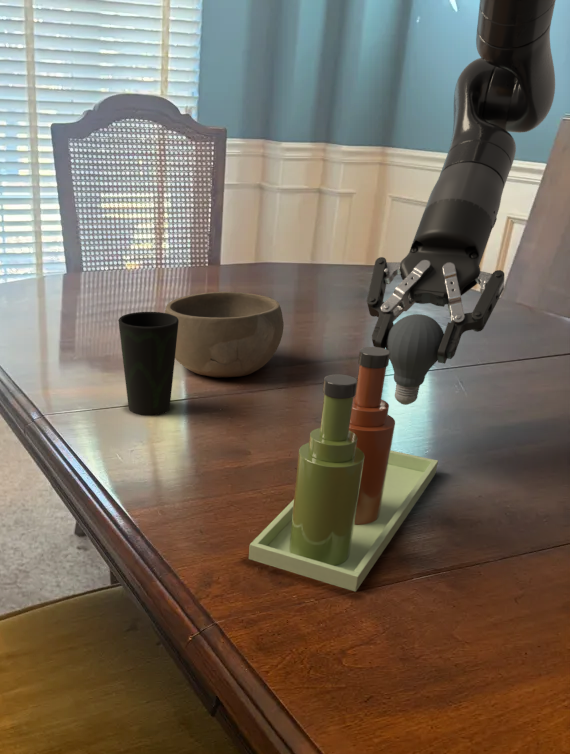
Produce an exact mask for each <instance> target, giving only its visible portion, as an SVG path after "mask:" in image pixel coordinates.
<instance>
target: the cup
mask: <svg viewBox="0 0 570 754" xmlns="http://www.w3.org/2000/svg"><path fill="white" fill-rule="evenodd" d="M178 323H179V320H178V318H177V317H175V316H174V315H171V314H167V313H165V312H161V311H137V312H130V313H126V314H124V315H121V316H120V317H119V318H118V329H119V338H120V346H121V355H122V363H123V373H124V380H125V391H126V396H127V406H128V407H127V408H128V411H129V412H131V413H132V414H134V415H135V414H136V415H139V416H144V417H145V416H146V417H150V416H151V417H152V416H160V415H164V414H167V413H168V412H169V411H170V409H171V399H172V390H173V381H174V371H175V363H176V362H175V361H176V359H175V352H176V342H177V333H178Z"/></svg>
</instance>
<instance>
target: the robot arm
mask: <svg viewBox="0 0 570 754" xmlns="http://www.w3.org/2000/svg"><path fill="white" fill-rule="evenodd" d="M556 1H557V0H479V6H478V17H477V26H476V36H475V44H476V46H475V47H476V50H477V53H478V55H479V56H480V57H479V58H477V59H474V60H472V61H471V62H470V63H469V64H468V65H467V66H465V68H464V69H463V70H462V72H460V74H459V76H458V78H457V81H456V84H455V87H454V95H453V125H452V135H451V141H450V145H449V148H448V152H447V155H446V157H445V159H444V162H443V165H442V168H441V170H440V174H439V176H438V179H437V181H436V182H435V184H434V186H433V188H432V189H431V192H430V194H429V196H428V199H427V202H426V205H425V208H424V210H423V213H422V215H421V217H420V221H419V224H418V227H417V229H416V233H415V235H414V238H413V240H412V243H411V245H410V248H409V251H408V253H407V254H406V256H405V257H404V258H403V259H402V260H401V261H398V262H397V261H396V262H394V261H393V262H392V261H391V262H387V258H385V257H383V256H380V257H378V258H376V259H375V262H374V266H373V271H372V274H371V278H370V283H369V288H368V293H367V297H366V305H367V309H368V313H369V315H370V316H371V317H373V318H375V317H377V320H376V323H375V326H374V328H373V331H372V334H371V341H372V347H379V348H384V349H386V339H387V336H388V334H389V331H390V330H391V328H392V327H393V325H394V324H395V323H394V322H395V321H396V320H397V319H398V318H399V317H400V316H401V315H402V314H403V313H404V312H407V311H408V310H410V308H411V307H412V306H414V304H418V305H419V304H420V305H425V304H431V305H434V306H437V307H442V308H444V307H446V306H445V305H447V310H448V314H449V318H450V322H447V325H446V326H445V330H444V332H443V333H444V335H443V338H442V341H441V344H440V347H439V350H438V354H437V358H438V361H437V363H438V364H446V362H447V360H452V359H453V358H454V357H455V355H456V352H457V350H458V347H459V343H460V341H461V337H462V335H463V334H464V333H466V332H468V331H474V332H478V333H479V332H481V331H483V330H484V329H485V327H486V325H487V322H488V321H489V319H490V317H491V315H492V313H493V311H494V309H495V308H496V305H497V303H498V301H499V299H500V298H501V296H502V295H503V294H502V293H503V292H504V289H505V272H504V271H503V270H502V269H498V270H495V271H493V272H492V273H491V272H487V271H482V270H481V267H480V265H481V262H482V259H483V256H484V254H485V251H486V248H487V244H488V242H489V239H490V236H491V233H492V230H493V228H494V227H495V225H496V222H497V220H498V219H497V217H498V213H499V210H500V207H501V202H502V195H503V193H504V189H505V186H506V184H507V180H508V178H509V175H510V172H511V170H512V166H513V163H514V160H515V157H516V153H517V152H516V151H517V146H516V141H515V139H514V137H513V135H511V133H519V134H520V133H527V132H530V131H532V130H534V129H535V128H538V126H539V125H540V124H541V123H543V121H545V119H546V117H547V116H548V115H549V113H550V111H551V109H552V106H553V103H554V99H555V93H556V73H555V72H556V71H555V65H554V61H553V60H554V59H553V54H552V49H551V27H552V26H551V25H552V20H553V17H554V10H555V6H556ZM398 275H400V277H401V280H402V281H401V282H400V283H399V284H398V285H397V286H396V287H395V288H394V290H393V293H392V294H391V295H390V296H389V297H388V298H387V299H386V300H385V301H384V298H385V293H386V289H387V285H390V284H391V283H392V282H393V281H394V278H395V277H396V276H398ZM476 285H479V293H480V294H481V295H480V296H479V299H478V301H477V303H476V305H475V307H474V309H472V310H473V311H472V312H466V313H465V311H464V306H463V300H462V296H463V295H464V294H466V293H467V292H469V291H470V290H471V289H473V288H474V287H476Z"/></svg>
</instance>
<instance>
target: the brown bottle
mask: <svg viewBox="0 0 570 754" xmlns="http://www.w3.org/2000/svg"><path fill="white" fill-rule="evenodd" d="M389 358H390V351H389V350H387V349H386V348H385V349H384V348H379V347H374V346H366V347H361V348H359V354H358V359H357V363H358V365H359V366H358V373H357V378H356V379H357V389H356V395H355V396H354V397H353V404H352V412H351V419H350V426H349V431H351V432H353V433H355V434H356V435H357V438H358V439H357V446H356V447H357V448H359V449H360V450H361V451H362V452H363V453H364V456H365V457H364V464H363V471H362V477H361V484H360V491H359V497H358V504H357V510H356V517H355V524H354V525H362V524H368V523H372V522H374V521H376V520H377V519H378V518H379V516H380V510H381V504H382V498H383V493H384V487H385V481H386V475H387V469H388V463H389V457H390V451H391V450H392V445H393V438H394V433H395V426H396V420H395V419H394V417H392V416H391V415H389V409H390V405H389V403H388V402H387V401H386V400H385V399H382V397H383V391H384V385H385V377H386V370H387V367H389V363H390V359H389Z"/></svg>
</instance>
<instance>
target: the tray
mask: <svg viewBox="0 0 570 754" xmlns="http://www.w3.org/2000/svg"><path fill="white" fill-rule="evenodd" d="M438 464H439V460H438V459H432V458H427V457H423V456H419V455H414V454H411V453H405V452H400V451H396V450H392V449H391V451H390V457H389V463H388V469H387V475H386V481H385V487H384V493H383V498H382V504H381V510H380V516H379V518H378V519H377V520H376V521H374V522H372V523H368V524H362V525H354V530H353V537H352V544H351V550H350V556H349V558H348V560H347V561H345V562H344V563H342V564H340V565H337V566H333V565H329V564H326V563H323V562H319V561H316V560H312V559H309V558H306V557H302V556H299V555H295V554H292V553H290V550H289V543H290V533H291V524H292V514H293V504H294V499H292V500H291V502H289V503H288V505H286V506H285V508H283V510H282V511H281V512H280V513H279V514H278V515H276V517H275V518H274V519H273V520H272V521H270V523H269V524H268V525H267V526H266V527H264V529H263V530H262V531H261V532H260V533H259V534H258V535H257V536H256V537H255V538H254V539H253V540H252V542H250V543H249V549H248V560H250V561H254V562H257V563H260V564H264V565H267V566H271V567H274V568H277V569H280V570H283V571H287V572H290V573H293V574H296V575H299V576H303V577H306V578H310V579H312V580H316V581H319V582H322V583H325V584H329V585H332V586H336V587H339V588H341V589H342V588H343V589H345V590H349V591H353V592H357V591H358V589H359V588H360V586H361V584H362V583H363V581H365V579H366V578H367V576H368V574H369V572H370V571H371V570H372V568H373V567H374V565H375V564H376V563H377V562H378V559H379V558H380V556H381V555H382V554H383V552H384V551H385V549H386V548H387V546H388V545H389V544H390V542H391V541H392V538H393V537H394V536H395V534H396V533H397V531H398V530H399V529H400V527H401V525H402V524H403V522H404V521H405V520H406V518H407V516H408V515H409V514H410V512H411V511H412V509H413V507H414V506H415V505H416V503H417V502H418V501H419V499H420V498H421V496H422V495H423V493H424V492H425V490H426V488H427V487H428V486H429V484H430V483H431V481H432V480H433V478H434V477H435V475H436V474H437V469H438Z"/></svg>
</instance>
